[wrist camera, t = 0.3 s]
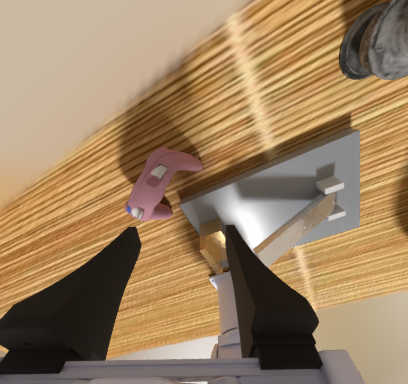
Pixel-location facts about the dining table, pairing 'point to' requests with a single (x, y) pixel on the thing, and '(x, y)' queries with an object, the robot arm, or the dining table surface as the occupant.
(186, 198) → the base board
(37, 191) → the dining table surface
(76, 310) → the robot arm
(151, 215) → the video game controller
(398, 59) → the grey stone finial
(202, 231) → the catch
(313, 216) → the silver flat bar
